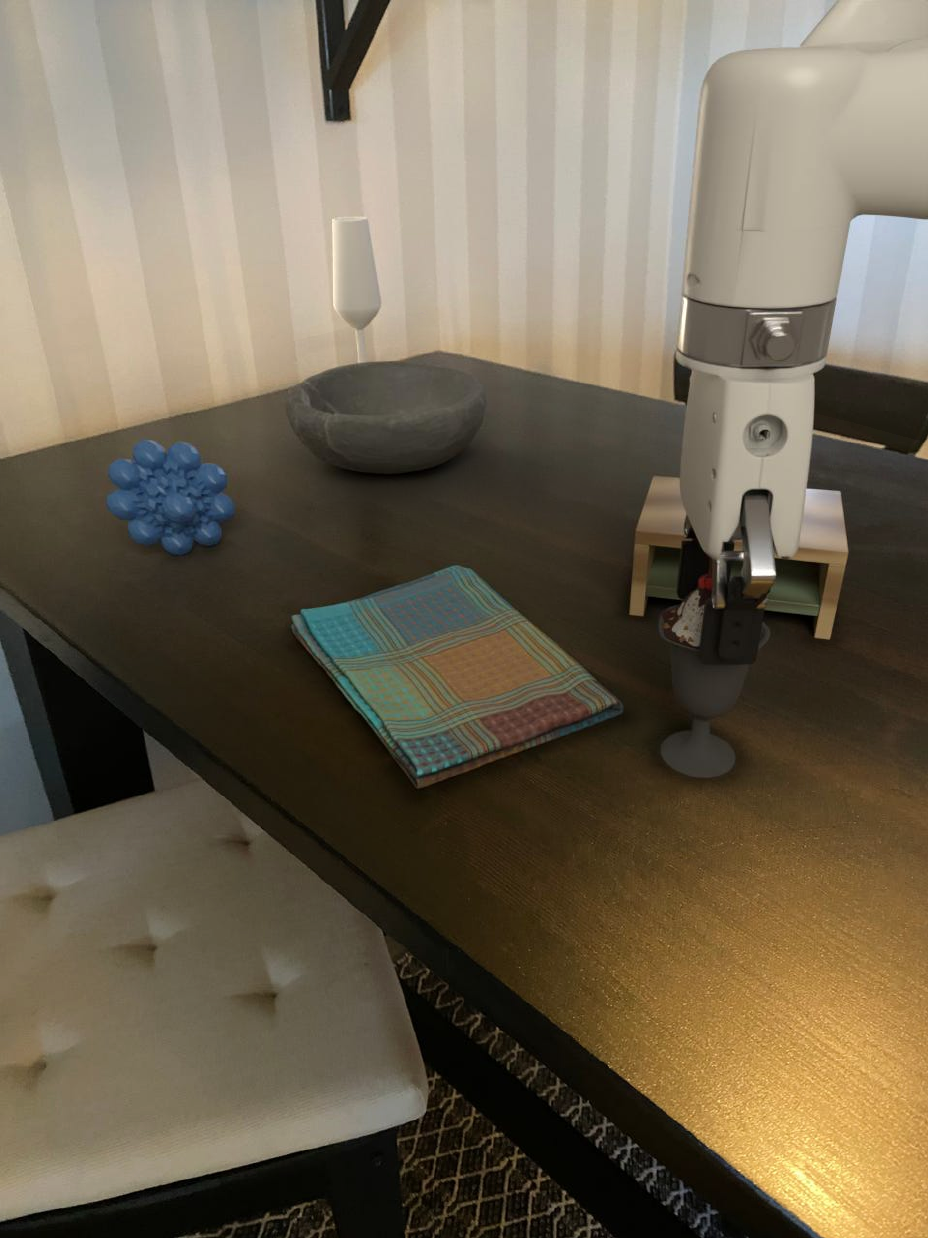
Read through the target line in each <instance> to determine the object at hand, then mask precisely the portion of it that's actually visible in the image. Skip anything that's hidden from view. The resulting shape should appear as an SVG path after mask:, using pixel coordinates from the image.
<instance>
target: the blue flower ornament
mask: <svg viewBox="0 0 928 1238" xmlns="http://www.w3.org/2000/svg"><path fill="white" fill-rule="evenodd" d="M132 448H133V449H132V459H133V460H134V461H133V460H131V459H127V458H117V459H116V460H114V461H113V462H111V463H110V464H109V465H108V471H107V472H108V478H109V480H110V481H111V484H113V485H114V486H116V487H117V489H116V488H115V489H114V490H113V491H111V492H110V493H108V495H107V497H106V507H107V509H108V511H109V513H110V514H111V515H113V516H114V517H115V518H117V519H119V520H120V521H121V520H122V521H128V525H127V534H128V536H129V537H130V539H131V540H132V541H134V542H135V543H137V544H138V545H140V546H146V547H150V546H154V545H156V544H158V542H160V544H161V546H162V548H163V549H164V550H165V551H166V552H168V553H170V554H171V555H173V556H184V555H188V554H189V553H190V552H191V551H192V550H193V547H194V542H196V543H198V544H199V545H201V546H204V547H211V546H212V547H213V546H215V545H217V544H218V543H219V542H220V541H221V540H222V533H223V529H222V527H221V526H220V524H219V523H224V522H228V521H230V520H232V519H233V518H234V516H235V513H236V504H235V503H234V501H233V499H232V498H231V497H230V496H228V495H227V494H226V493H224V492H223V491H224V490H225V489H226V488H227V486H228V478H229V477H228V475H227V473H226V472H225V470H224V469H223V468H222V467H221V466H220V465H218V464H216V463H209V462H204V463H202V455H201V453H200V452H199V450H198V449H197V448H196V447H195V446H194V445H192V444H191V443H190V442H183V441H176V442H175V443H173V444H171V445H170V446H169V447H168V448H167V451H166V449H165V448H164V446H163V445H161V444H160V443H158V442H157V441H155V440H149V439H142V440H140V441H138V442H137V443H136V444H135V445H134V446H133V447H132ZM118 488H119V489H118Z"/></svg>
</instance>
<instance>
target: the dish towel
mask: <svg viewBox="0 0 928 1238" xmlns="http://www.w3.org/2000/svg"><path fill="white" fill-rule="evenodd" d="M291 621H292V623H291V625H290V629H291V631H292V634H293V635H294V636H295V638H296V639H297V640H298V641H299V643H300V644H301V645H302V646H303V647H304V648H305V650H306V651H307V652H308V653H309V654H310V656H311V657H313V659H314V660H315V662H317V664H318V665H319V666H320V667H322V669H323V670H324V671H325V673H326V674H327V675H328V676H329V678H330V679H331V680H332V681H333V683H334V684H335V686H336V687H337V688H338V689H339V690H340V691H341V693H342V694H343V695H344V697H345V698H346V699H347V701H348V702H349V703H350V705H352V707H353V709H354V710H355V711H357V712H358V713H359V714H360V715H361V716H362V718H363V719H364V720H365V721H366V723H367V724H368V725H369V726H370V728H371V730H372V731H373V733H375V735H376V736H377V738H378V739H379V740H380V742H381V743H382V744H383V745H384V747H385V749H386V750H387V751H388V752H389V754H390V755H391V756H392V758H393V759H394V760H395V762H396V763H397V764H398V766H399V767H400V768H401V770H402V771H403V772H404V773H405V775H406V777H408V779H409V780H410V782H411V783H412V785H413V786H414V788H415V789H417V790H419V789H422V788H423V789H424V788H427V787H429V786H432V785H434V784H437V783H439V782H443V781H444V780H447V779H450V778H452V777H456V776H458V775H461V774H465V773H467V772H469V771H473V770H475V769H478V768H480V767H482V766H485V765H487V764H490V763H493V762H497V760H501V759H504V758H506V757H509V756H512V755H514V754H517V753H521V752H523V751H525V750H529V749H531V748H535V747H538V746H540V745H543V744H545V743H548V742H550V741H554V740H557V739H559V738H561V737H565V736H568V735H570V734H572V733H575V732H579V731H582V730H583V729H586V728H589V727H593V726H594V725H596V724H601V723H603V722H606V721H607V720H610V719H614V718H616V717H617V716H620V715H622V714H623V713H624V705H623V703H622V701H621V700H620V699H619V698H617V697H616V696H615V695H614V694H613V693H612V692H610V691H609V690H608V688H606V687H605V686H603V685H602V684H601V682H599V681H598V680H597V679H596V678H595V677H594V676H593V675H592V674H591V673H589V671H588V670H586V669H585V668H584V667H583V665H581V664H580V663H579V662H578V661H577V660H576V659H574V658H573V657H572V656H570V655H569V654H568V653H567V652H566V651H565V650H564V649H562V648H561V646H559V644H557V643H556V642H555V641H554V640H553V639H551V638H550V637H549V636H547V634H546V633H545V632H543V631H542V630H540V628H539V627H537V626H536V625H534V623H533V622H531V621H530V620H528V619H527V618H526V617H525V616H524V615H523V614H521V613H520V612H519V611H518V610H517V609H516V608H514V607H513V606H512V605H511V604H510V603H509V602H508V601H507V600H506V599H504V598H503V597H502V595H500V594H499V593H498V592H497V591H496V590H494V589H493V588H492V586H491V585H489V583H487V581H485V580H484V579H483V578H482V577H481V576H480V575H478V574H477V573H476V572H475V571H474V570H473V569H472V568H469V567H464V566H461V565H458V564H457V565H451V566H448V567H445V568H443V569H441V570H438V571H435V572H433V573H430V574H428V575H424V576H422V577H419V578H417V579H414V580H411V581H408V582H405V583H401V584H398V585H395V586H392V587H389V588H385V589H381V590H379V591H376V592H374V593H371V594H368V595H366V596H362V597H360V598H356V599H353V600H348V601H345V602H344V601H343V602H341V603H336V604H333V605H326V606H319V607H314V608H302V609H301V610H300V614H299V613H298V614H293V615H291Z"/></svg>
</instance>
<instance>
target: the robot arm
mask: <svg viewBox="0 0 928 1238" xmlns="http://www.w3.org/2000/svg"><path fill="white" fill-rule="evenodd" d="M699 93H700V94H699V101H698V107H697V119H696V130H695V131H696V132H695V139H694V140H695V141H694V142H695V143H694V151H693V152H694V153H693V162H692V172H691V173H692V174H691V185H690V195H689V209H688V218H687V228H686V239H685V249H684V260H683V272H682V281H681V296H680V306H679V317H678V327H677V337H676V347H675V357H674V358H675V360H676V363H678V364H679V365H681V366H682V367H684V368H687V369H689V370H691V375H690V377H689V386H688V387H689V388H688V396H687V402H686V409H685V415H684V416H685V417H684V424H683V435H682V445H681V453H680V454H681V455H680V466H679V468H680V469H679V478H680V494H681V499H682V503H683V505H684V508H685V511H686V513H687V514H686V518H685V522H684V538H685V539H692V541H682V542H681V552H680V561H679V571H678V580H677V589H676V592H677V595H678V597H679V598H680V599H682V600H681V601H684V599H685V597H686V596H688V595H689V594H690V593H691V592H693V591H695V590H696V589H697V587H698V583H699V581H698V580H699V578H700V577H701V576H703V575H705V574H708V573H709V566H710V561H709V557H708V555H709V556H710V557H711V558H712V600H705V605H704V613H703V621H702V629H701V637H700V645H699V653H698V656H699V659H700V662H701V663H702V664H704V665H749V664H750V665H752V664H754V663H755V662H756V661H757V658H758V651H759V649H758V646H759V640H760V634H761V628H762V622H764V614H765V611H766V610H765V608H766V606H767V595H768V593H770V589H771V587H772V586H773V584H774V583H775V579H776V569H775V560H774V551H775V553H776V555H777V556H778V557H781V558H782V559H785V560H787V559H791V558H792V557H793V556H794V555H795V554H796V553H797V551H798V547H799V541H800V535H801V528H802V520H803V513H804V505H805V498H806V490H807V489H808V482H809V481H808V480H809V474H810V463H811V457H812V456H811V454H812V446H813V445H812V444H813V433H814V421H815V420H814V419H815V417H814V416H815V393H816V392H815V376H814V374H815V373H818V372H820V371H821V370H823V368H825V366H826V362H827V358H828V357H827V356H828V351H829V344H830V340H831V334H832V328H833V322H834V316H835V311H836V305H837V299H838V294H839V287H840V282H841V277H842V271H843V267H844V266H843V265H844V260H845V256H846V255H845V254H846V248H847V243H848V237H849V232H850V226H851V222H852V221H853V220H854V219H856V218H857V217H859V216H884V217H885V216H886V217H897V218H906V219H907V218H908V219H915V220H925V221H928V0H837V1H836V2H835V3H834V4H833V5H832V6H831V7H830V9H829V10H828V11H827V12H826V13H825V15H824V16H823V17H822V18H821V19H820V21H819V22H817V24H816V25H815V26H814V28H812V30H811V31H810V32H809V34H808V35H807V36H806V37H805V39H804V40H803V41H802V42H801V44H799V46H785V47H784V46H783V47H768V48H767V47H765V48H753V49H743V50H738V51H733V52H730V53H727V54H725V55H723V56H721V57H719V58H718V59H717V60H716V61H715V62H713V63H712V64H711V66H710V67H709V69H708V70H707V72H706V74H705V76H704V78H703V80H702V84H701V88H700V92H699ZM733 540H742V549H743V551H734V545H735V543H734V541H733ZM700 545H701V547H702V548H701V547H700ZM707 554H708V555H707ZM732 562H743V568H742V571H741V576H735V577H733V578H732V579H731V580H730V574H731V567H732ZM750 665H749V666H750Z"/></svg>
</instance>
